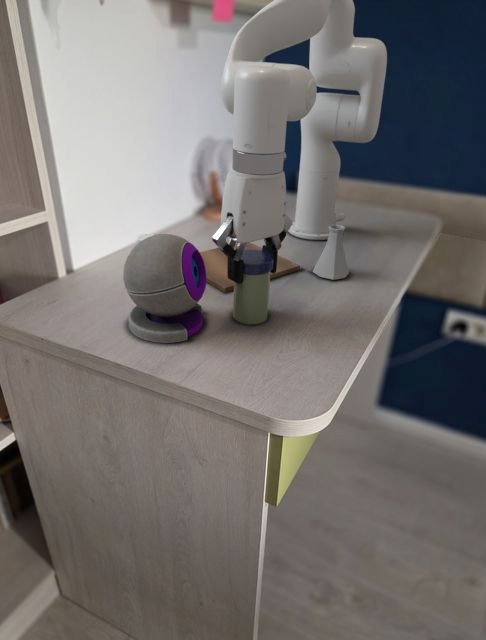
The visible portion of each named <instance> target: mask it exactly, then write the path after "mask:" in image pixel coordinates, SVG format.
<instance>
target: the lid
mask: <svg viewBox="0 0 486 640" xmlns="http://www.w3.org/2000/svg"><path fill="white" fill-rule="evenodd" d="M241 259H242V260H243V261H244V268H243V273H244V274H253V275H254V274H264V273H268V272H270V271H271V270H272V269H273V265H274V261H273V259H274V258H273V256H272V255H271V254H270V253H267V252H265V251H260V250H244V251H243V254H242V256H241Z"/></svg>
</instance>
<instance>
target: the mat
mask: <svg viewBox="0 0 486 640" xmlns="http://www.w3.org/2000/svg"><path fill="white" fill-rule="evenodd" d="M237 245H238V243H236V244H235V247H234V250H236V247H237ZM244 250H260V251H262V246H260V245H259V246H258V245H256V244H255V243H252V242H249V243H246V246H245V248H244ZM199 252H200V254H201V256H202V258H203V261H204V264H205V269H206V283H208V284H210V285H211V286H213V287H215V288H216V289H218V290H220V291H221V292H223V293H228V292H231V291H234V281H232V280H230V279H229V278H228V274H227V267H228V257H227V256H225V255H224V253H223V252H222V251H221V250H220V249H219V247H215V248H211V249H207V250H202V251H199ZM300 270H301V265H300V264H298V263H296V262H294V261H291V260H289V259H287V258H285V257H283V256H281V255H278V256H277V269H276V273H270V280H272V279H274V278H278V277H282V276H285V275H287V274H291V273H293V272H297V271H300Z"/></svg>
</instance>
